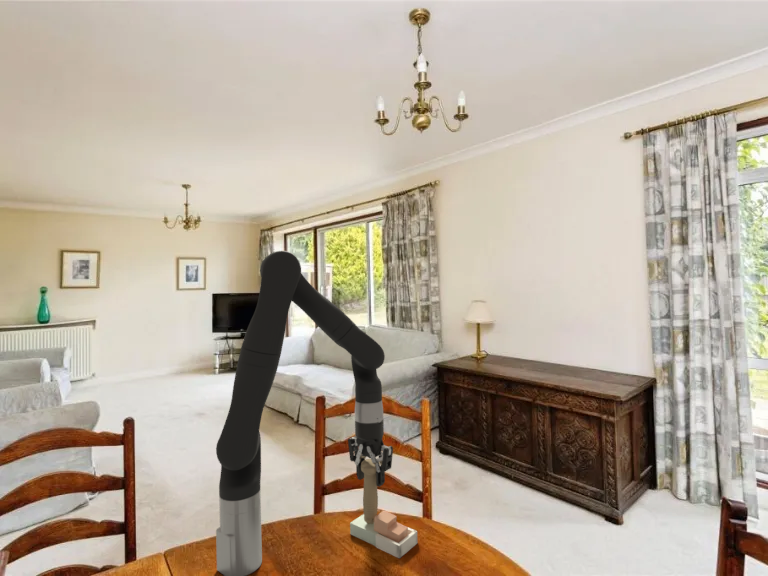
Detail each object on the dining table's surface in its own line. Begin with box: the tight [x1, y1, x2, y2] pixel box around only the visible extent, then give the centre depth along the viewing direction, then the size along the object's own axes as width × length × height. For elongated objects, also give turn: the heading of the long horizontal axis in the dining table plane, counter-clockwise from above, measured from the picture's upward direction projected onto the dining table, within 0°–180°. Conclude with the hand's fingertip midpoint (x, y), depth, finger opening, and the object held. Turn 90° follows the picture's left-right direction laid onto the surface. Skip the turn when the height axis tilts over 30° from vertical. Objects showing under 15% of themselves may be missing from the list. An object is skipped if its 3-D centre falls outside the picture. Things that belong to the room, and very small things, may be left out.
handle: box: [361, 458, 381, 524], centre depth 109 cm, size 5×6×15 cm
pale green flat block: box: [349, 513, 386, 547], centre depth 109 cm, size 6×9×3 cm, turn 51°
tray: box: [375, 527, 418, 559], centre depth 104 cm, size 8×7×3 cm
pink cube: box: [374, 509, 397, 537], centre depth 105 cm, size 4×4×4 cm
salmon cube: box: [387, 521, 409, 543], centre depth 103 cm, size 4×4×4 cm
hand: (370, 481), depth 109 cm, fingers open, 6 cm apart
